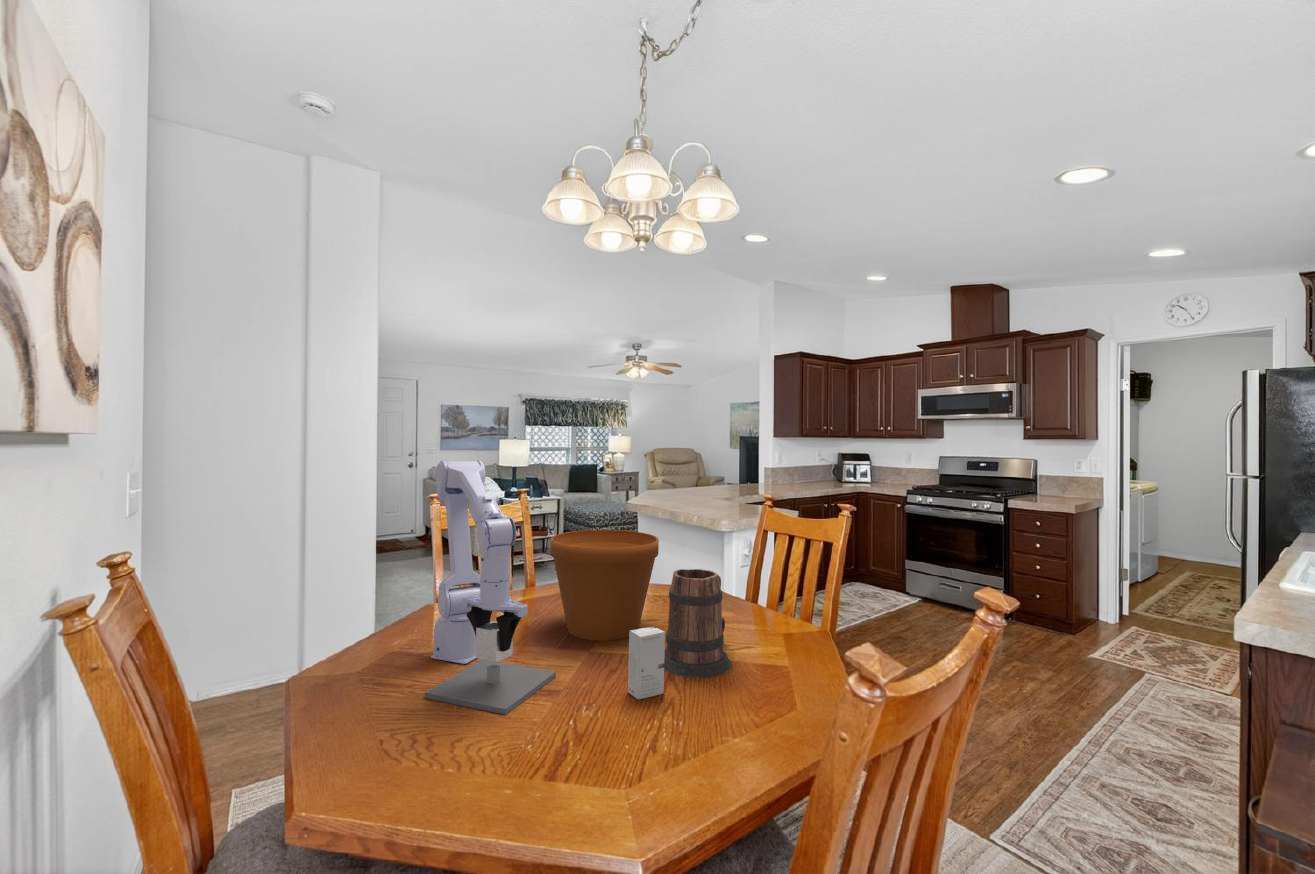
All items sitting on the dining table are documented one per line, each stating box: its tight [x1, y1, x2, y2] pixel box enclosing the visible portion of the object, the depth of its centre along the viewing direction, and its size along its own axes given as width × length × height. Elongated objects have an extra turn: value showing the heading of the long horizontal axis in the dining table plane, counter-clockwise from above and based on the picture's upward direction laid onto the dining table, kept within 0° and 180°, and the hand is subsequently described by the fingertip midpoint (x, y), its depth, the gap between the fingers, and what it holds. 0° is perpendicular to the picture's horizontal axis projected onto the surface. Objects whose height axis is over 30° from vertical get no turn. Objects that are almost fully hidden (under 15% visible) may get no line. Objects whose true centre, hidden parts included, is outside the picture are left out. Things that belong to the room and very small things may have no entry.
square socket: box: [476, 620, 514, 663], centre depth 117 cm, size 5×5×6 cm
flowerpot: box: [549, 529, 660, 641], centre depth 154 cm, size 28×28×24 cm
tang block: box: [423, 659, 557, 716], centre depth 117 cm, size 18×18×4 cm
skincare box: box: [627, 626, 666, 700], centre depth 115 cm, size 6×4×12 cm
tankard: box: [664, 568, 733, 679], centre depth 134 cm, size 24×17×20 cm
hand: (494, 647), depth 117 cm, fingers closed on square socket, 5 cm apart
